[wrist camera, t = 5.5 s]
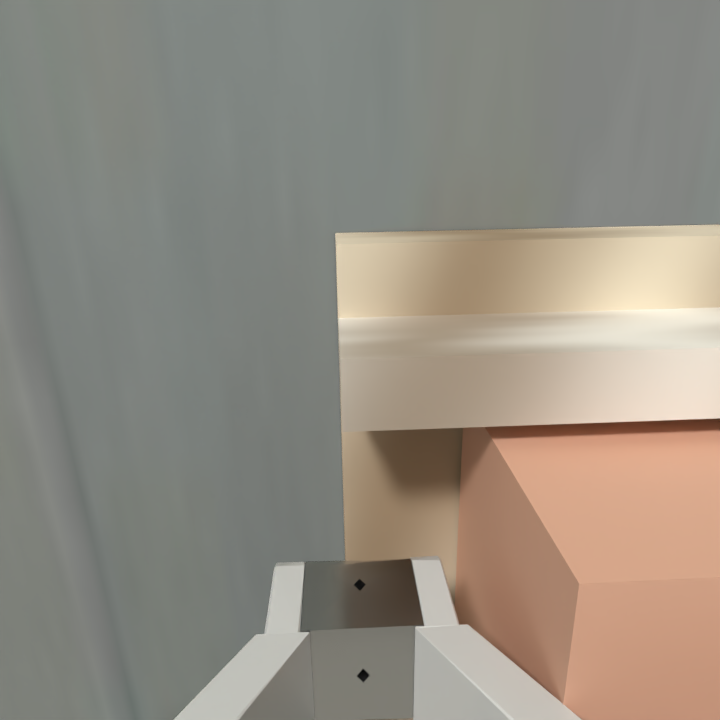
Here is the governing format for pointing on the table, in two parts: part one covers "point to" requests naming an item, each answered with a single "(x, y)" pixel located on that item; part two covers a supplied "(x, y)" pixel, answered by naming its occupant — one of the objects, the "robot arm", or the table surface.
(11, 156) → the table surface
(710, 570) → the block
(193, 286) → the table surface
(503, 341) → the chute
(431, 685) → the robot arm
